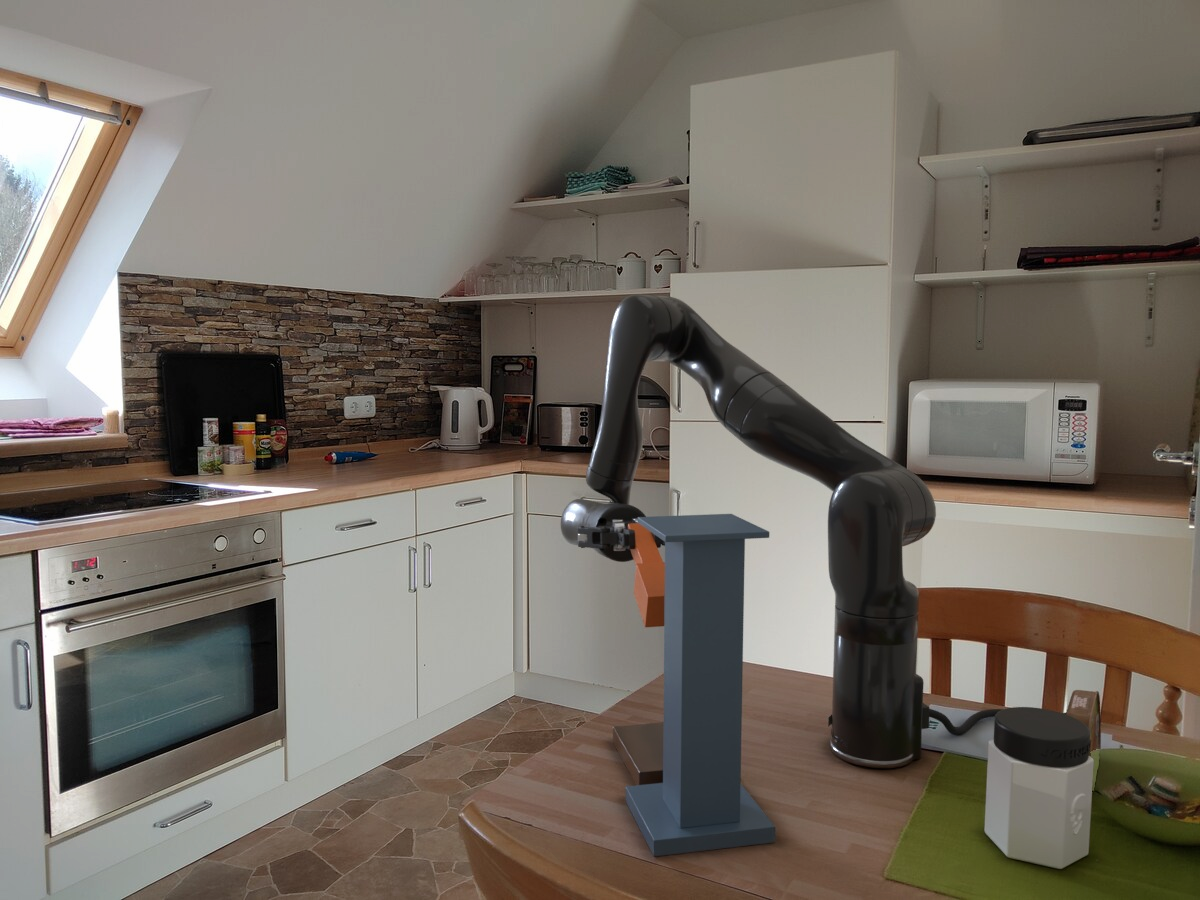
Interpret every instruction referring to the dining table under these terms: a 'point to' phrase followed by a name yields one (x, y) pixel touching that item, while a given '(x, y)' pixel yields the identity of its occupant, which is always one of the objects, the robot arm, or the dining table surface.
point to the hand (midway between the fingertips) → (645, 539)
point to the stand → (701, 692)
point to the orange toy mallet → (648, 577)
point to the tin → (1087, 714)
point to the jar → (1039, 786)
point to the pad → (641, 751)
